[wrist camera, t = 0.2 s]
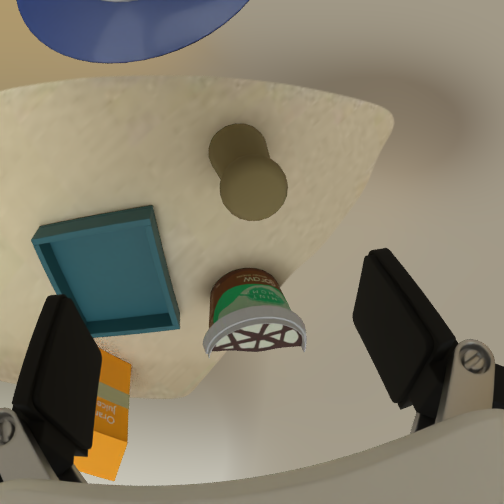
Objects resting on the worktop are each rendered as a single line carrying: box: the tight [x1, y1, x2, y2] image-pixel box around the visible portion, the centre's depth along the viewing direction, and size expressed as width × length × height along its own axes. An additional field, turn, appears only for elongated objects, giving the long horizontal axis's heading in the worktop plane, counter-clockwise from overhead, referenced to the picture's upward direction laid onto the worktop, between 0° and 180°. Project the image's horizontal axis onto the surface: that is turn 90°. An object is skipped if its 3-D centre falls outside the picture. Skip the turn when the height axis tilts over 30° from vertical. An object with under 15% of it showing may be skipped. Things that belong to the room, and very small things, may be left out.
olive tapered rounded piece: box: [209, 124, 288, 221], centre depth 28 cm, size 6×6×11 cm
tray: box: [31, 205, 180, 338], centre depth 37 cm, size 17×15×3 cm
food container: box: [203, 268, 306, 358], centre depth 38 cm, size 12×6×10 cm, turn 83°
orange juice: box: [74, 348, 131, 481], centre depth 39 cm, size 8×9×20 cm
